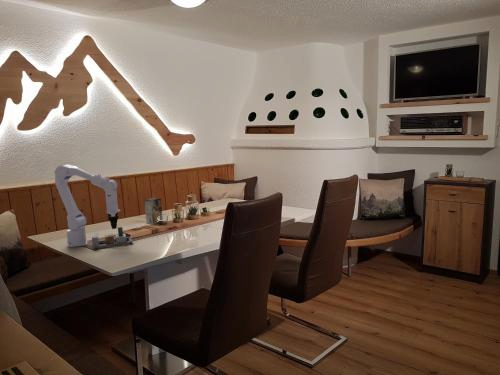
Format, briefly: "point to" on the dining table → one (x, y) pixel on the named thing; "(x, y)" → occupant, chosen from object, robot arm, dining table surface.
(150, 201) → the coffee box
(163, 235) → the dining table surface
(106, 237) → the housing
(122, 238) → the ram
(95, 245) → the press frame
